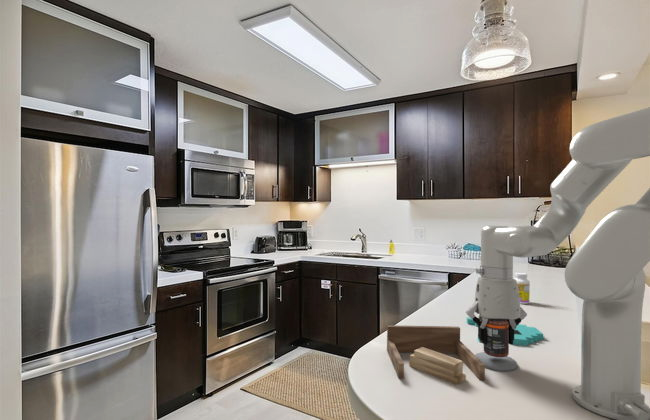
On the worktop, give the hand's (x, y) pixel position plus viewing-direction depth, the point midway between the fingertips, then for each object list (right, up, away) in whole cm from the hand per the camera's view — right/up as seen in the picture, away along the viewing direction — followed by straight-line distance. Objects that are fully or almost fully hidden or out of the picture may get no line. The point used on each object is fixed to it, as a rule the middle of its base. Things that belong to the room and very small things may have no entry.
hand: (496, 341), depth 93 cm
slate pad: (0, -5, 0) cm, 5 cm away
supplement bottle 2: (+42, -7, +65) cm, 77 cm away
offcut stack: (-17, -5, -6) cm, 19 cm away
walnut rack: (-17, -5, -1) cm, 18 cm away
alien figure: (+14, -6, +23) cm, 28 cm away
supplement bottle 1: (0, -3, 0) cm, 3 cm away
